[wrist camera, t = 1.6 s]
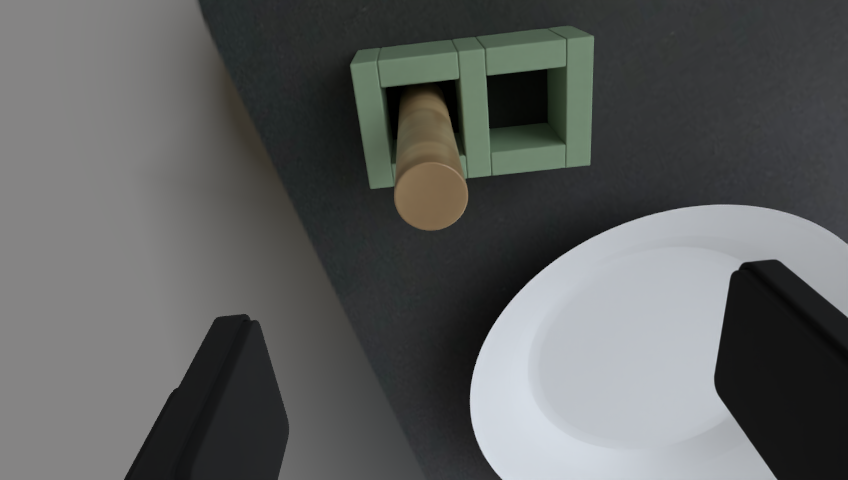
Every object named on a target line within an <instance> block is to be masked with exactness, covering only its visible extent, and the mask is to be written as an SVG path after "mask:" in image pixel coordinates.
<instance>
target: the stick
mask: <svg viewBox="0 0 848 480" xmlns="http://www.w3.org/2000/svg"><path fill="white" fill-rule="evenodd" d="M394 202H395V206H396V209H397V211H398V213H399V214H400V216H401V217H402V218H403V219H404V220H405V221H406V222H407V223H408V224H410V225H412V226H414V227H416V228H419V229H422V230H439V229H443V228H445V227H448V226H450V225H451V224H453V223H454V222H455V221H457V220H458V219H459V218H460V216H461V215H462V214H463V212H464V210H465V208H466V206H467V202H468V189H467V185H466V181H465V177H464V173H463V169H462V165H461V161H460V157H459V153H458V149H457V145H456V141H455V137H454V133H453V129H452V125H451V121H450V117H449V113H448V109H447V105H446V101H445V97H444V94H443V92H442V90H441V89H440V88H439V87H438V86H437V85H436V84H435V83H433V82H427V83H419V84H410V85H407V86H406V87H405V89H404V90H403V92H402V94H401V96H400V104H399V121H398V137H397V154H396V171H395V188H394Z"/></svg>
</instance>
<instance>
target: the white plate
mask: <svg viewBox="0 0 848 480" xmlns="http://www.w3.org/2000/svg"><path fill="white" fill-rule="evenodd" d="M770 259H777V260H778V261H780V262H782V263H783V264H784V265H785V266H786V267H788V268H789V269H790V270H791V271H792V272H794V273H795V274H796V275H797V276H799V277H800V278H801V279H802V280H803V281H805V282H806V283H807V284H808V285H809V286H811V287H812V288H813V289H814V290H815V291H817V292H818V293H819V294H820V295H821V296H823V297H824V298H825V299H826V300H827V301H829V302H830V303H831V304H832V305H834V306H835V307H836V308H837V309H838V310H840V311H841V312H842V313H843V314H844V315H846V316H847V317H848V245H847V244H846V243H845V242H844V241H842V240H841V239H840V238H839V237H837V236H836V235H834V234H833V233H831V232H830V231H828V230H826V229H825V228H823V227H821V226H819V225H817V224H815V223H813V222H811V221H808V220H806V219H803V218H801V217H798V216H795V215H792V214H789V213H785V212H781V211H777V210H773V209H768V208H762V207H755V206H745V205H705V206H694V207H687V208H680V209H675V210H669V211H665V212H660V213H656V214H653V215H649V216H645V217H642V218H639V219H636V220H633V221H630V222H627V223H624V224H622V225H619V226H617V227H614V228H612V229H610V230H607V231H605V232H603V233H601V234H599V235H597V236H595V237H593V238H591V239H589V240H587V241H585V242H583V243H582V244H580V245H578V246H576V247H575V248H573V249H571V250H570V251H568V252H567V253H565V254H564V255H562V256H561V257H559V258H558V259H556V260H555V261H554V262H552V263H551V264H550V265H548V266H547V267H546V268H545V269H543V270H542V271H541V272H540V273H539V274H537V275H536V276H535V277H534V278H533V279H532V280H531V281H530V282H529V283H528V284H526V285H525V286H524V287H523V288H522V290H521V291H520V292H519V293H518V294H517V295H516V296H515V297H514V298H513V299H512V300H511V302H510V303H509V304H508V305H507V307H506V308H505V309H504V310H503V312H502V313H501V315H500V316H499V317H498V319H497V320H496V322H495V324H494V325H493V327H492V329H491V330H490V332H489V334H488V336H487V338H486V340H485V342H484V344H483V346H482V348H481V351H480V353H479V356H478V358H477V362H476V365H475V368H474V372H473V377H472V382H471V391H470V411H471V420H472V425H473V429H474V433H475V436H476V439H477V442H478V444H479V446H480V448H481V450H482V452H483V454H484V456H485V458H486V459H487V461H488V462H489V464H490V465H491V467H492V468H493V469H494V471H495V472H496V473H497V474H498V475H499V477H500V478H501V479H502V480H777V479H776V477H775V476H774V475H773V473H772V472H771V470H770V469H769V467H768V466H767V465H766V463H765V462H764V460H763V459H762V457H761V456H760V455H759V453H758V452H757V450H756V449H755V447H754V446H753V445H752V443H751V442H750V440H749V439H748V437H747V436H746V435H745V433H744V432H743V430H742V429H741V427H740V426H739V425H738V423H737V422H736V420H735V419H734V417H733V416H732V415H731V413H730V412H729V410H728V409H727V407H726V406H725V405H724V403H723V402H722V400H721V399H720V397H719V396H718V394H717V392H716V389H715V385H714V373H715V367H716V361H717V355H718V349H719V343H720V337H721V331H722V324H723V318H724V312H725V306H726V300H727V294H728V288H729V282H730V277H731V274H732V273H733V272H734V271H735V270H739V267H740V266H741V264H742V263H744V262H751V261H760V260H770Z"/></svg>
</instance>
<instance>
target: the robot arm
mask: <svg viewBox="0 0 848 480" xmlns="http://www.w3.org/2000/svg"><path fill="white" fill-rule="evenodd" d="M714 385H715V389H716V392H717V394H718V396H719V397H720V399H721V400H722V402H723V403H724V405H725V406H726V407H727V409H728V410H729V412H730V413H731V415H732V416H733V417H734V419H735V420H736V422H737V423H738V425H739V426H740V427H741V429H742V430H743V432H744V433H745V435H746V436H747V437H748V439H749V440H750V442H751V443H752V445H753V446H754V447H755V449H756V450H757V452H758V453H759V455H760V456H761V457H762V459H763V460H764V462H765V463H766V465H767V466H768V467H769V469H770V470H771V472H772V473H773V475H774V476H775V477H776V479H777V480H848V317H847V316H846V315H844V314H843V313H842V312H841V311H840V310H838V309H837V308H836V307H835V306H834V305H832V304H831V303H830V302H829V301H827V300H826V299H825V298H824V297H823V296H821V295H820V294H819V293H818V292H817V291H815V290H814V289H813V288H812V287H811V286H809V285H808V284H807V283H806V282H805V281H803V280H802V279H801V278H800V277H799V276H797V275H796V274H795V273H794V272H792V271H791V270H790V269H789V268H788V267H786V266H785V265H784V264H783V263H782V262H780V261H778V260H777V259H770V260H760V261H751V262H744V263H742V264H741V266H740V267H739V270H735V271H734V272H733V273H732V274H731V277H730V282H729V288H728V294H727V300H726V306H725V312H724V318H723V324H722V331H721V337H720V343H719V349H718V355H717V361H716V367H715V373H714ZM288 435H289V424H288V418H287V415H286V411H285V408H284V404H283V401H282V398H281V394H280V391H279V388H278V384H277V381H276V378H275V374H274V371H273V367H272V364H271V360H270V357H269V353H268V350H267V347H266V344H265V340H264V337H263V333H262V330H261V326H260V324H259V322H258V321H257V320H253V321H251V320H250V318H249V316H248V315H246V314H241V315H231V316H222V317H217V318H216V319H215V320H214V322H213V324H212V326H211V328H210V329H209V331H208V333H207V335H206V337H205V339H204V341H203V342H202V345H201V346H200V348H199V350H198V352H197V354H196V355H195V357H194V359H193V361H192V363H191V365H190V367H189V369H188V370H187V372H186V374H185V376H184V378H183V380H182V382H181V384H180V385H179V387H178V388H176V389H174V390H173V392H172V393H171V394H170V396H169V398H168V399H167V401H166V403H165V405H164V407H163V409H162V410H161V412H160V414H159V416H158V418H157V420H156V422H155V423H154V425H153V427H152V429H151V431H150V433H149V435H148V436H147V438H146V440H145V442H144V444H143V446H142V447H141V449H140V451H139V453H138V455H137V457H136V458H135V460H134V462H133V464H132V466H131V468H130V469H129V472H128V473H127V475H126V477H125V479H124V480H278V476H279V472H280V468H281V464H282V460H283V456H284V452H285V448H286V444H287V440H288Z"/></svg>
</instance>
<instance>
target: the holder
mask: <svg viewBox="0 0 848 480" xmlns="http://www.w3.org/2000/svg"><path fill="white" fill-rule="evenodd" d="M593 50H594V36H592V35H590V34H588V33H586V32H583V31H581V30H579V29H577V28H574V27H572V26H562V27H554V28H548V29H537V30H529V31H520V32H512V33H503V34H494V35H486V36H477V37H476V38H475V37H469V38H460V39H453V40H452V41H451V40H443V41H435V42H426V43H417V44H409V45H400V46H392V47H383V48H381V49H380V48H374V49H366V50H358V51H357V53H356V55H355V56H354V58H353V60H352V62H351V64H350V69H351V75H352V81H353V87H354V93H355V99H356V106H357V112H358V118H359V124H360V130H361V136H362V142H363V149H364V155H365V161H366V167H367V173H368V179H369V185H370V188H371V189H375V188H384V187H393V186H395V171H396V154H397V139H395V140H393V136H392V129H391V122H390V114H389V107H388V100H387V93H386V87H393V86H401V85H410V84H419V83H427V82H436V81H445V80H454V79H455V88H456V101H457V113H458V126H459V133H454V137H455V141H456V145H457V149H458V153H459V157H460V161H461V165H462V169H463V173H464V177H465V179H466V178H467V177H468V178H475V177H484V176H491V174H492V175H493V176H494V175H503V174H512V173H521V172H530V171H539V170H548V169H557V168H565V167H576V166H586V165H590V153H591V118H592V84H593ZM541 69H547V92H548V123H538V124H529V125H520V126H511V127H503V128H494V129H489V119H488V101H487V83H486V75H488V76H489V75H497V74H506V73H515V72H523V71H532V70H541Z"/></svg>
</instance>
